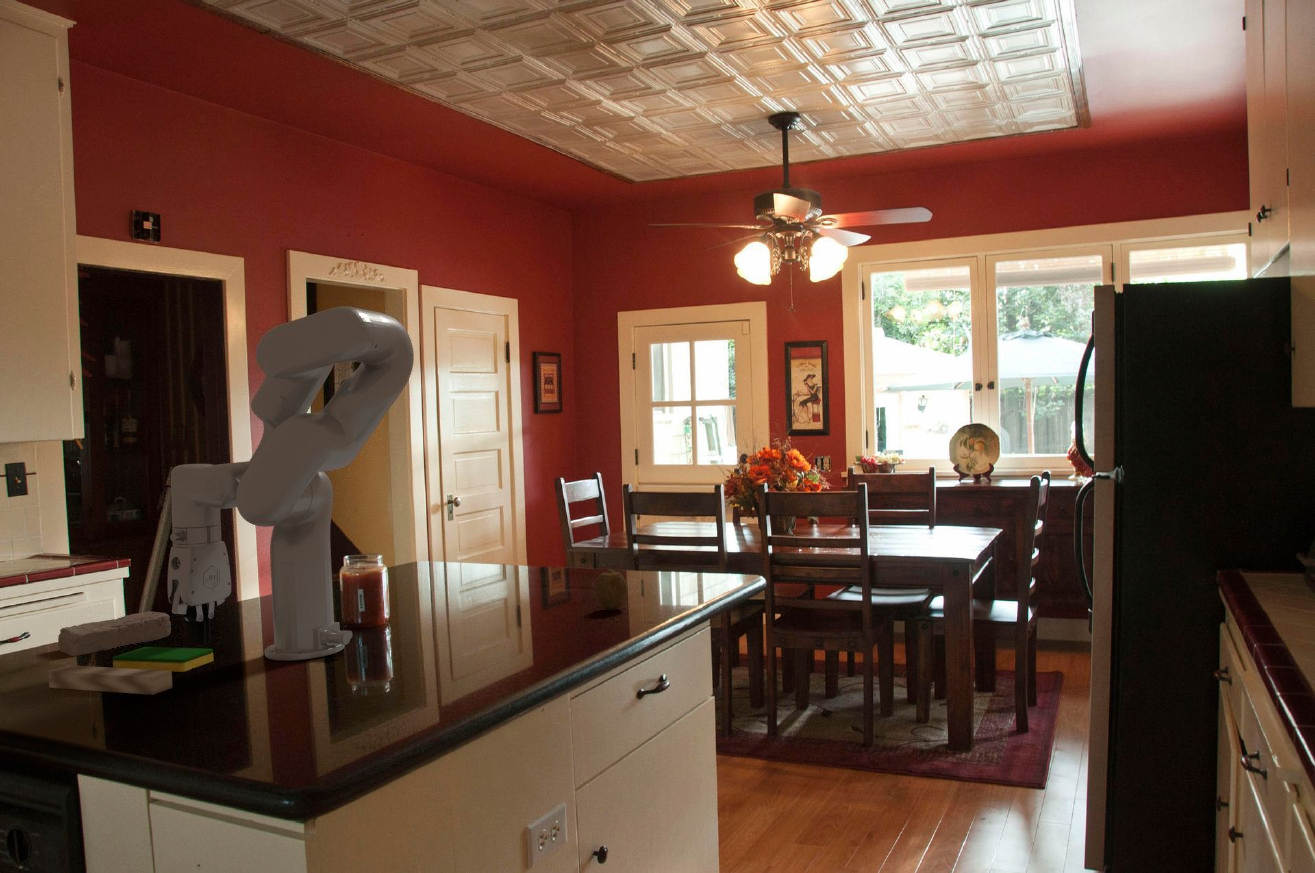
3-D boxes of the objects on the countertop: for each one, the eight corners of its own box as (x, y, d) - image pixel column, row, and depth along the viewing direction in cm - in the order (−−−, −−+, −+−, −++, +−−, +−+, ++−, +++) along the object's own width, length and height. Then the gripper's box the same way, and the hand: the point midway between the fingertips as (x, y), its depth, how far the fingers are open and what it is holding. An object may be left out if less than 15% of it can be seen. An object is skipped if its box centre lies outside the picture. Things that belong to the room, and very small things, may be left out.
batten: (172, 687, 143) (171, 670, 143) (153, 694, 140) (152, 677, 140) (70, 681, 150) (69, 665, 150) (49, 687, 146) (48, 671, 146)
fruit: (628, 606, 190) (626, 565, 190) (628, 612, 184) (626, 570, 184) (596, 607, 190) (594, 567, 190) (595, 614, 184) (593, 572, 184)
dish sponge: (145, 660, 163) (145, 646, 163) (215, 662, 160) (214, 648, 160) (111, 671, 157) (111, 656, 157) (183, 674, 153) (182, 659, 153)
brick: (74, 658, 167) (73, 631, 167) (56, 652, 172) (55, 625, 172) (173, 639, 179) (172, 613, 179) (153, 634, 185) (152, 609, 185)
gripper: (180, 542, 158) (183, 654, 158) (246, 531, 172) (249, 634, 172) (144, 541, 160) (147, 651, 161) (212, 530, 174) (215, 631, 175)
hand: (200, 642), depth 167 cm, fingers closed
